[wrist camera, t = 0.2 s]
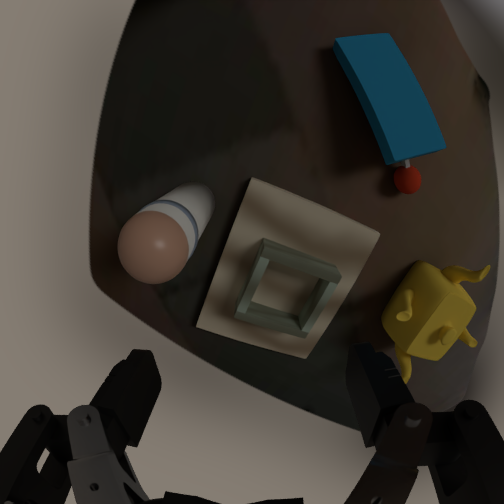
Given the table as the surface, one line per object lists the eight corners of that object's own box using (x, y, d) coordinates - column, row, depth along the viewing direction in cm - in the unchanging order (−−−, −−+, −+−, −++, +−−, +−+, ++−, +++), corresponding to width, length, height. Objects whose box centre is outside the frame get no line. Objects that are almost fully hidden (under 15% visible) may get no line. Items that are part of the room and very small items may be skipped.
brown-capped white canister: (178, 174, 29) (110, 208, 14) (222, 189, 29) (191, 238, 15) (165, 217, 31) (99, 281, 16) (207, 232, 31) (170, 310, 17)
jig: (251, 176, 29) (251, 182, 25) (376, 230, 31) (391, 243, 27) (197, 321, 36) (191, 341, 32) (304, 353, 38) (308, 373, 34)
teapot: (379, 349, 38) (401, 394, 29) (365, 277, 33) (396, 321, 24) (453, 313, 36) (483, 347, 27) (452, 238, 31) (495, 267, 22)
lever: (326, 68, 28) (382, 202, 29) (335, 38, 21) (407, 199, 22) (372, 60, 27) (427, 187, 28) (388, 33, 20) (457, 182, 21)
